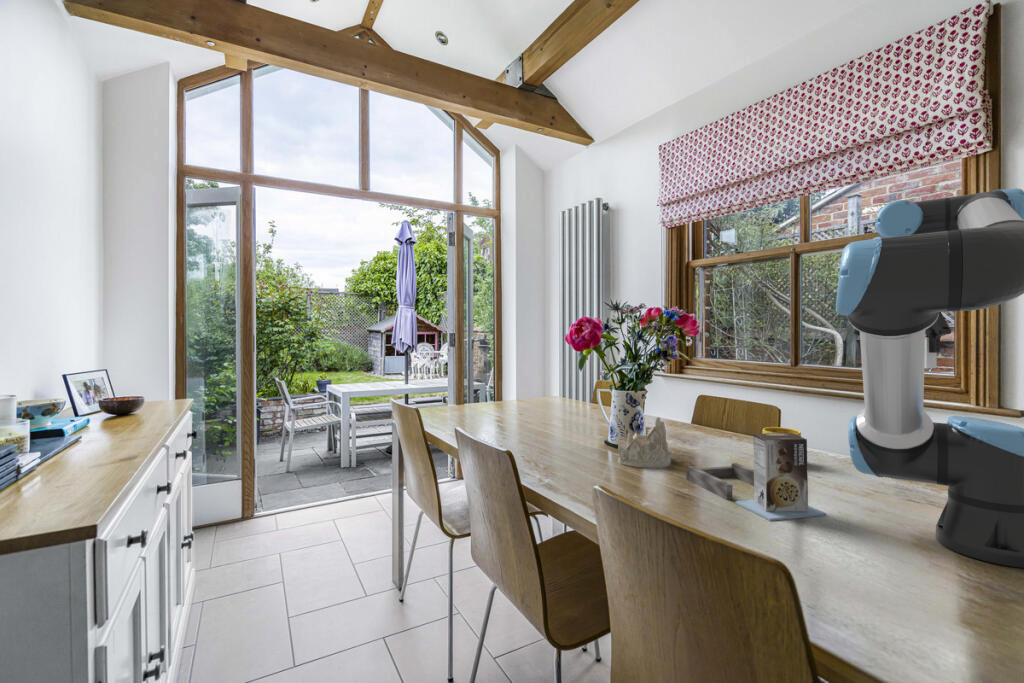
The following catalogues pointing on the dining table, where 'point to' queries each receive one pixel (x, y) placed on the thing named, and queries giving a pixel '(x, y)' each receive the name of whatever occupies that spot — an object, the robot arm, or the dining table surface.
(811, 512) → the mat
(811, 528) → the dining table surface
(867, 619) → the dining table surface
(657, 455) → the ceramic cottage
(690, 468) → the tray
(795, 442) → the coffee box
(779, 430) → the plant pot
